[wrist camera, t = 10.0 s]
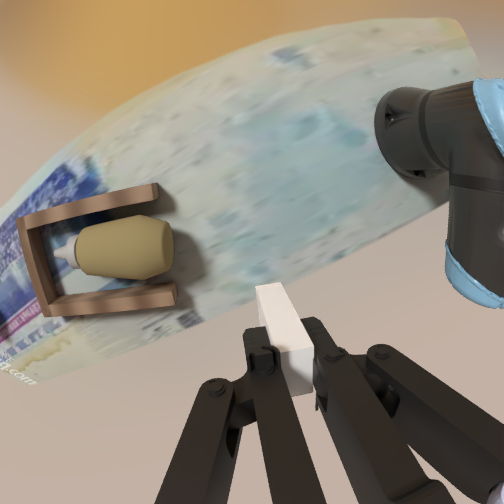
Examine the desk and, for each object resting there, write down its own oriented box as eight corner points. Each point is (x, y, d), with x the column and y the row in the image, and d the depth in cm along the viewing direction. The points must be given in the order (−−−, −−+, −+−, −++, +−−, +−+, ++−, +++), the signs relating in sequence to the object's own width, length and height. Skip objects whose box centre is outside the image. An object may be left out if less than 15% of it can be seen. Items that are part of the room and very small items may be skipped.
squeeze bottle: (173, 292, 33) (61, 292, 33) (180, 242, 38) (76, 249, 38) (154, 250, 27) (31, 258, 26) (166, 198, 32) (53, 213, 32)
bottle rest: (157, 182, 34) (151, 183, 31) (177, 294, 39) (174, 305, 36) (27, 214, 32) (15, 219, 29) (53, 307, 37) (44, 317, 34)
